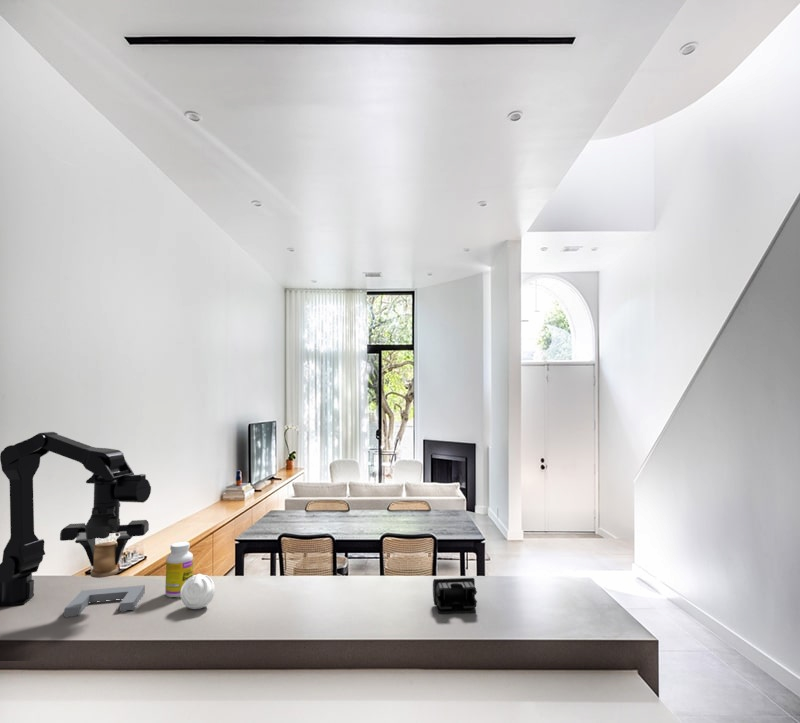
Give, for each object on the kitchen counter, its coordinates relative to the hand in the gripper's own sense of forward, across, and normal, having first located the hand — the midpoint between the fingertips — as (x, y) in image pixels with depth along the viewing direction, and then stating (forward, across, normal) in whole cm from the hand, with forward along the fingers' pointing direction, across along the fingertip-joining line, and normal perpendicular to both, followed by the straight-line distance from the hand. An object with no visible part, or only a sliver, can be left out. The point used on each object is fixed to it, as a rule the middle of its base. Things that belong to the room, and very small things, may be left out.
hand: (105, 565), depth 133 cm
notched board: (+10, 0, +2) cm, 10 cm away
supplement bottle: (+10, +17, +5) cm, 20 cm away
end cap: (+10, +84, -22) cm, 87 cm away
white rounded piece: (+10, +23, -6) cm, 26 cm away
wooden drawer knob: (+2, 0, 0) cm, 2 cm away
